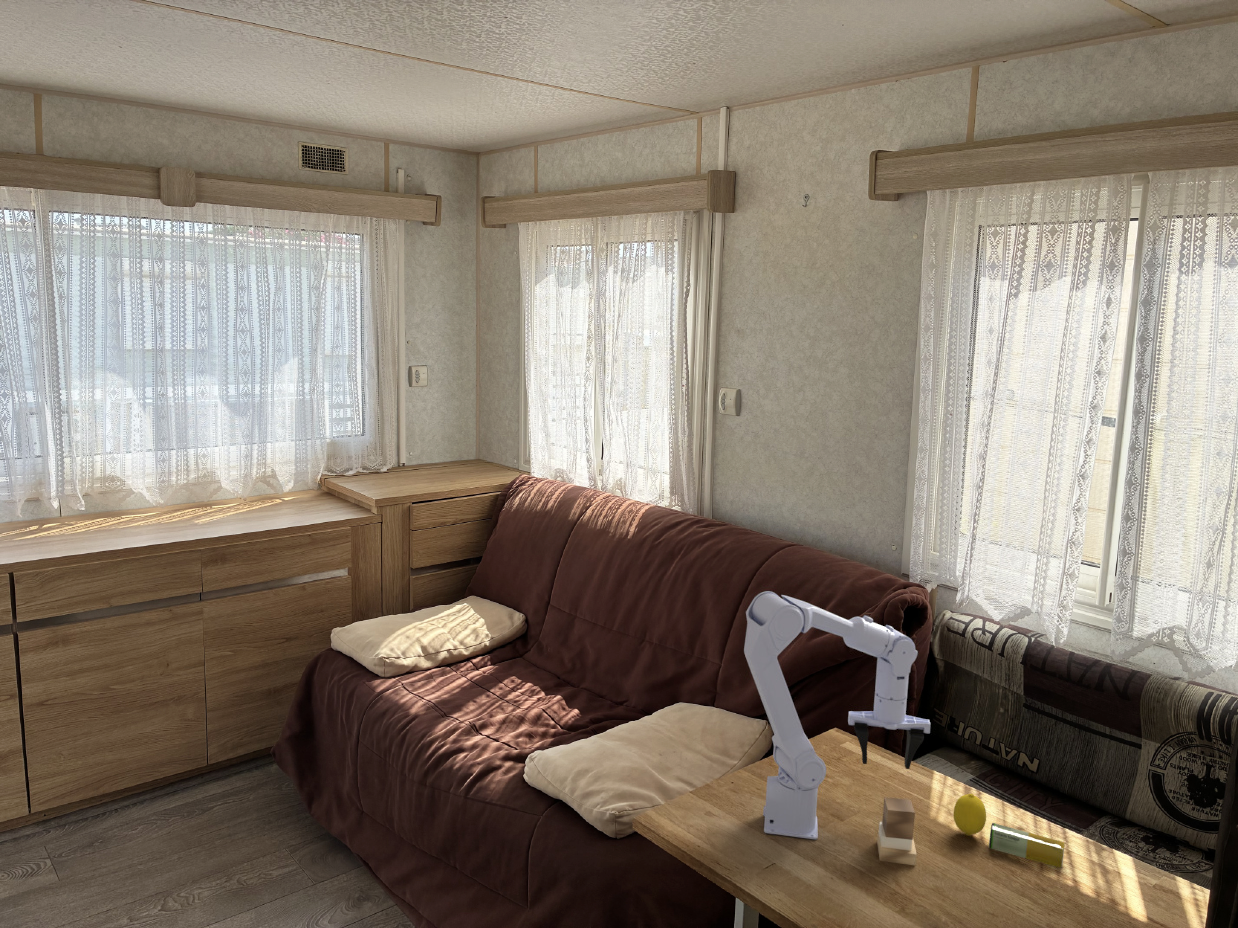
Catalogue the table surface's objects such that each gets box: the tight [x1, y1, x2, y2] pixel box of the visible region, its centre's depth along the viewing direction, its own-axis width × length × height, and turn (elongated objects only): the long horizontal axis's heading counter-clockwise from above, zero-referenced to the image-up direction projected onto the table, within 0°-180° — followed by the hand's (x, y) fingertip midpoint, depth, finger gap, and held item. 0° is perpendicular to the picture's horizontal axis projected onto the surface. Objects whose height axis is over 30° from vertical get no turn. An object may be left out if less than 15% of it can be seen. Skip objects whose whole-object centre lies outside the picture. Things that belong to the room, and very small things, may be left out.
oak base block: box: [876, 831, 918, 866], centre depth 162 cm, size 6×6×2 cm
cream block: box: [878, 821, 912, 851], centre depth 162 cm, size 5×5×2 cm
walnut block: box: [881, 796, 916, 840], centre depth 161 cm, size 4×4×5 cm
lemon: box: [953, 793, 987, 837], centre depth 168 cm, size 6×6×8 cm
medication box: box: [988, 822, 1066, 869], centre depth 163 cm, size 12×3×4 cm, turn 61°
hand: (885, 764), depth 173 cm, fingers open, 7 cm apart
